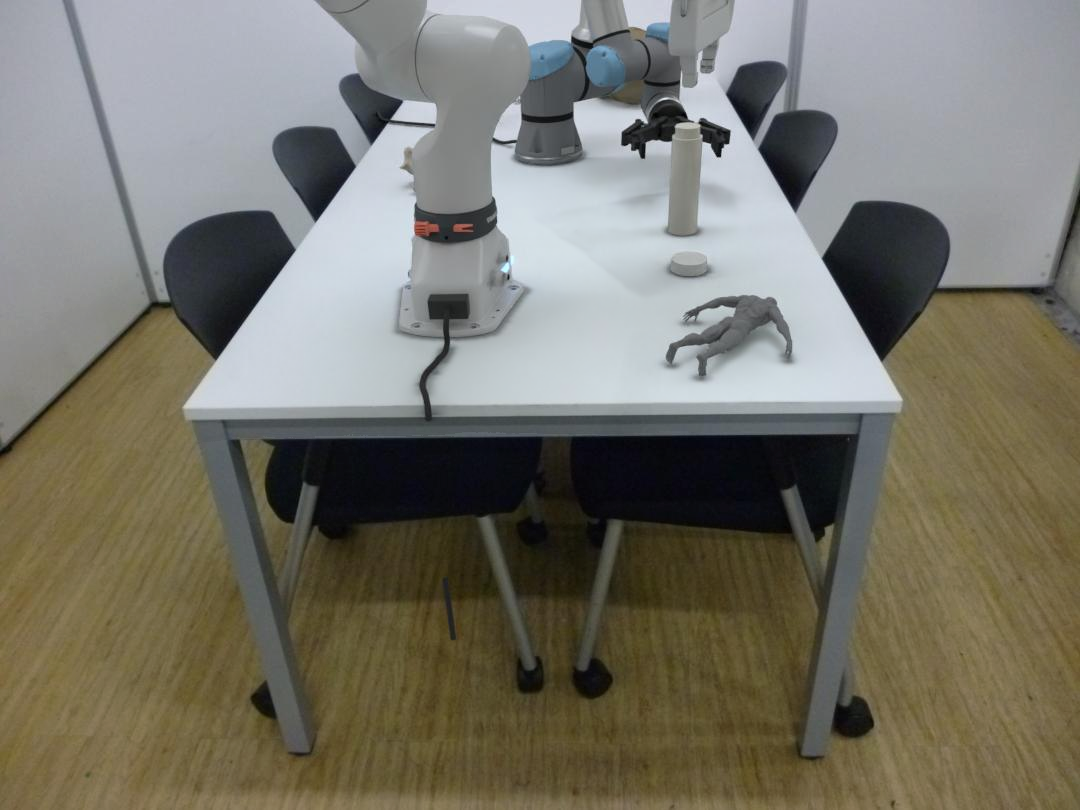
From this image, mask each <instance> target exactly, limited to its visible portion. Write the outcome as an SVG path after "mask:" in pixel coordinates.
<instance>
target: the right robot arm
mask: <svg viewBox="0 0 1080 810" xmlns="http://www.w3.org/2000/svg"><path fill="white" fill-rule="evenodd" d="M629 27H630V25H629V22H628V18H627V13H626V9H625V4H624V0H581V1H580V12H579V23H578V25H576V26H575V27H574V28H573V29H571V34H570V41H568V40H564V39H551V40H549V41H546V40H545V41H540V42H536V43H533V44H531V45H528V47H529V50H530V55H531V72H530V77H529V80H528V83H527V85H526V87H525V89H524V91H523V92H522V94H521V95H520V96H519V98H520V116H521V117H520V120H521V121H520V125H519V130H518V134H517V138H516V139H511V140H500V139H497V138H495V137H493V140H492V142H494V143H496V144H499V145H512V144H515V146H514V158H515V160H517V161H519V162H520V163H524V164H527V165H535V166H554V165H562V164H567V163H571V162H575V161H577V160H579V159H580V158H582V157H583V154H584V153H583V144H582V140H581V138H580V133H579V131H578V128H577V125H576V122H575V111H574V109H575V106H574V105H575V103H578V102H582V101H588V100H592V99H596V98H600V97H603V98H604V97H607V96H608V95H610V94H612V93H615V92H617V91H619V90H620V89H621V88H623V87H624V85H625V84H626V83H628V82H632V81H637V80H642V79H644V90H643V93H642V96H641V103H640V108H641V110H642V113H643V115H644V117H645V120H646V122H645V121H644V120H642V119H641V118H636V119H635V120H634V123H632V124H630V125H629V126H628V127H626V128H625V129H623V130H622V131H621V137H620V141H621V143H620V146H622V147H627V146H629V145H630V151H632V152H637V151H638V154H639V157H640V159H641V160H645V159H646V151H647V143H649V142H652V141H656V142H657V141H660V142H663V143H672V135H673V134H675V125H676V124H679V123H687V122H690V123H697V124H700V126H701V128H700V134H701V135H703V142H702V143H706V144H709V145H710V148H711V150H712V151H713V153H714V156H715V157H716V158H718V159H720V158H722V154H723V153H722V151H723V149H724V148H725V146H728V145H730V142H731V133H732V131H731V129H728V128H726V127H724V126H722V125H720V124H716V123H714V122H712V121H709V120H708V119H707V118H705V117H700V118H699V120H698V121H697V122H695V121H694V120H691V119H689V117H688V116H689V115H688V114H687V112H686V110H685V108H684V106H683V104H682V102H681V100H680V96H681V95H680V94H681V81H682V70H681V65H680V56H672V55H671V54H670V52H669V46H668V41H669V27H670V22H667V21H666V22H664V21H663V22H662V21H661V22H653V23H651V24H649V25H647V27H646V29H645V31H646V34H645V37H646V38H641V39H635V40H632V37H631V33H630V30H629ZM608 97H609V96H608ZM375 116H378V118H379V119H380V121H382V122H385V123H389V124H399V125H407V126H410V125H411V126H421V127H423V126H424V127H434V128H435V124H436V123H431V122H430V123H429V122H418V121H404V120H397V119H396V120H395V119H389V118H384V116H382V114H381V111H380V110H376V112H375Z"/></svg>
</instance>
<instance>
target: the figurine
mask: <svg viewBox="0 0 1080 810" xmlns="http://www.w3.org/2000/svg"><path fill="white" fill-rule="evenodd" d="M721 306H723V307H725V308H729V309H734V313H733V314H732V316H730V315H729V316H725V317H724V318H722V319H721V320H720V321H718V322H717V323H716V324H713V325H710V326H708V327H707V328H705V329H704V330H703V331H702V332H701V333H697V332H691V333H688V334H686V335H685V336H684V337H682V338H681V339H679V340H677V341H675V342H670V344H669V345H668V350H667V351H666V354H665V361H666V362H668V363H669V364H670V365H673V362H674V360H675V356H676V354H677V352H678V350H679V349H680V348H683V347H691V346H693V347H694V346H699V347H701V346H703V345H708V349H706V351H704V352H701V353H698V354H697V355H696V359H697V361H698V367H697V373H698V377H704V376H706V375H707V366H708V359H710V358H713V357H715V356H718V355H721V354H725V353H726V352H729V351H731V350H732V349H734V348H735V347H738V346H739V345H741V343H742V342H743V341H744V340H745V339H746V338H747V336H748V335H749V334H750V333H751V332H753V331H755V330H756V329H757V328H758V327H762V326H765V325H767V324H769V323H773V324H775V328H776V331H777V332H778V334H781V336H783V338H784V340H785V341H786V345H785V348H786V349H785V351H784V356H787V358H786V359H787V361H789V360H790V358H791V355H792V353H793V339H792V336H791V331H790V327H789V324H788V323H787V321H786V320H785V319H784V316H783V314H782V312H781V310H780V308H779V306H778V301H777V300H776V299H775V297H773V296H767V297H765V298H762V297H760V296H758V295H755V294H751V295H747V294H739V295H738V296H736V295H729V296H720V297H716V298H714V299H712V300H710V301H708V302H705V303H703V304H701V305H699V306H696V307H694V308H691V309H690V310H688V311H686V312H684V315H683V316H682V317H683V319H682V320H683V321H684V322H685V323H686V322H688V321H689V320H690V319H691V318H692V317H694V320H693V322H694V323H696V322H697V318H698V316H699V315H700V313H701V312H702V311H705V310H708V309H711V310H714V309H718V308H720V307H721Z"/></svg>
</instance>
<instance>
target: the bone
mask: <svg viewBox="0 0 1080 810" xmlns="http://www.w3.org/2000/svg"><path fill="white" fill-rule="evenodd" d="M413 148H414V147H411V146H406V147H405V148H404V150H403V155H404V156H403V157H404V161H403V163H402V165H400V166H399V169H400V170H403V171H406V172H407V173H408V174H410V175H412V176H413V169H412V160H411V155H412V151H413ZM412 189H413V192H414V193H415V186H413V188H412Z"/></svg>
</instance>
